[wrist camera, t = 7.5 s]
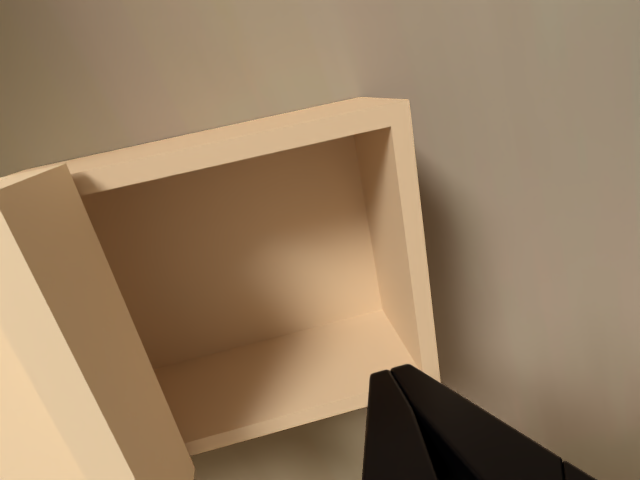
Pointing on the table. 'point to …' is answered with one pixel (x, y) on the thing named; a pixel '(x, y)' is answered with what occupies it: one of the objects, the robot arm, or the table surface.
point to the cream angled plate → (72, 350)
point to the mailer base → (269, 263)
